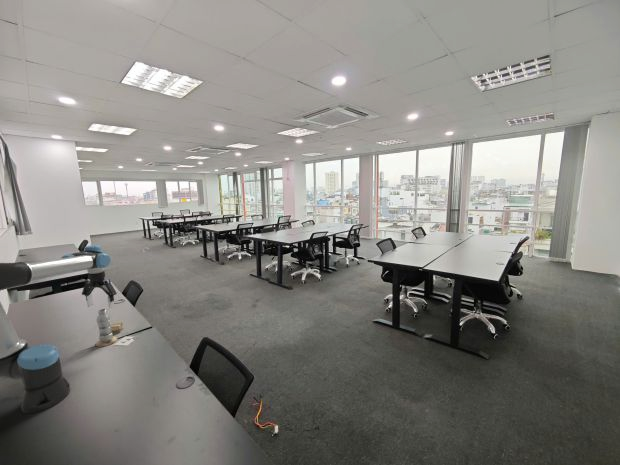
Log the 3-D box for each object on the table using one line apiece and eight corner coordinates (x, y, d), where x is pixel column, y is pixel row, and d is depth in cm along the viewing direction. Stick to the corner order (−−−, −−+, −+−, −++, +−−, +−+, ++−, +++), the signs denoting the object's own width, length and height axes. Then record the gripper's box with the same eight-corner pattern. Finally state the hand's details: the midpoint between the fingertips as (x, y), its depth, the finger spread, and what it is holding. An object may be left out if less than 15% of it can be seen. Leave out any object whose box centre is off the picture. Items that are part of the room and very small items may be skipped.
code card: (127, 345, 150) (127, 345, 150) (113, 345, 151) (113, 344, 151) (138, 337, 159) (138, 337, 159) (125, 336, 160) (125, 336, 160)
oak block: (120, 332, 165) (119, 325, 164) (111, 333, 163) (110, 326, 163) (123, 328, 169) (122, 321, 169) (115, 329, 168) (114, 322, 167)
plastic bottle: (108, 344, 151) (103, 312, 148) (96, 344, 151) (91, 312, 148) (116, 338, 157) (112, 307, 154) (105, 338, 157) (101, 307, 154)
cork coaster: (107, 347, 149) (107, 346, 149) (91, 346, 150) (91, 345, 150) (121, 337, 159) (121, 336, 159) (106, 337, 160) (106, 336, 160)
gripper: (121, 270, 150) (125, 304, 153) (83, 269, 152) (88, 302, 155) (110, 274, 142) (114, 309, 145) (70, 273, 145) (75, 308, 148)
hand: (101, 306), depth 150 cm, fingers open, 13 cm apart
